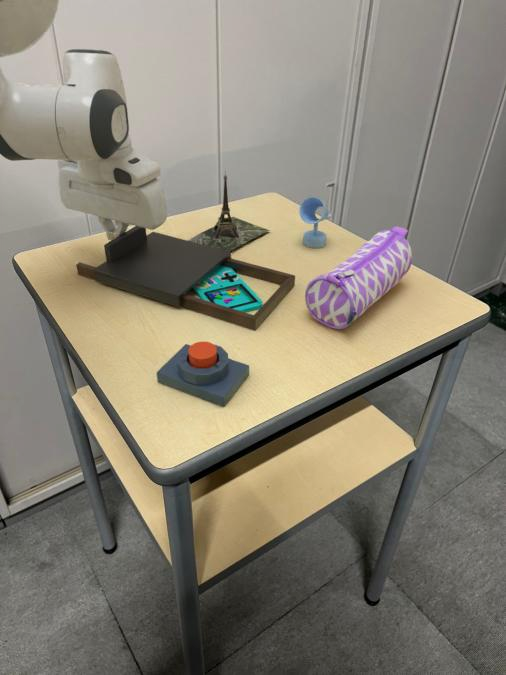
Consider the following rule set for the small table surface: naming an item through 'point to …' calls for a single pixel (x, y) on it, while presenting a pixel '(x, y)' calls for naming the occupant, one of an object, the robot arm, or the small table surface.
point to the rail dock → (225, 312)
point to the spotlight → (313, 222)
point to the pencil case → (359, 279)
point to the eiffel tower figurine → (228, 230)
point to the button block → (204, 376)
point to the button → (202, 355)
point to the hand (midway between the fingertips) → (117, 240)
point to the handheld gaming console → (227, 290)
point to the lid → (156, 264)
